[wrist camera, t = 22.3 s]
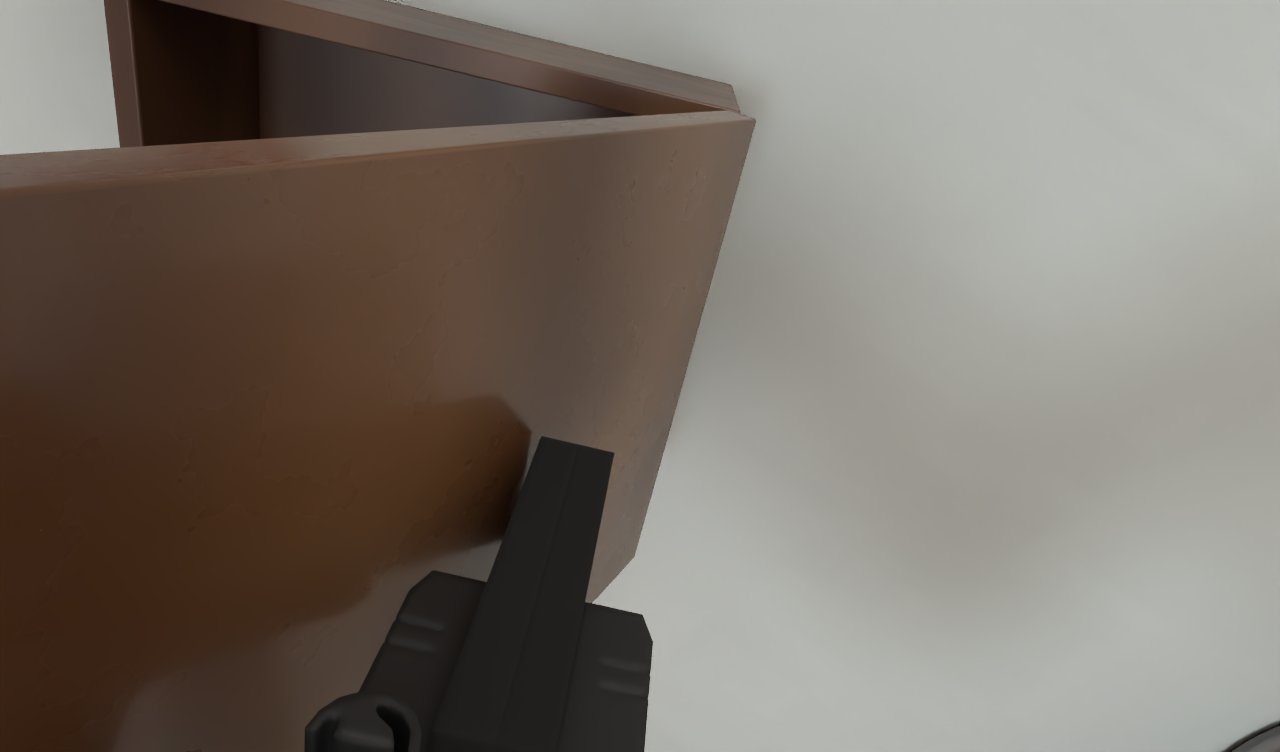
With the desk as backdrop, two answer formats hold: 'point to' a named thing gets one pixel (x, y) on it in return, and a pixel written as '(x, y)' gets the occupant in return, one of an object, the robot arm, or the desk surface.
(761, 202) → the desk surface
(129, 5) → the storage box
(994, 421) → the desk surface
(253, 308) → the box lid
